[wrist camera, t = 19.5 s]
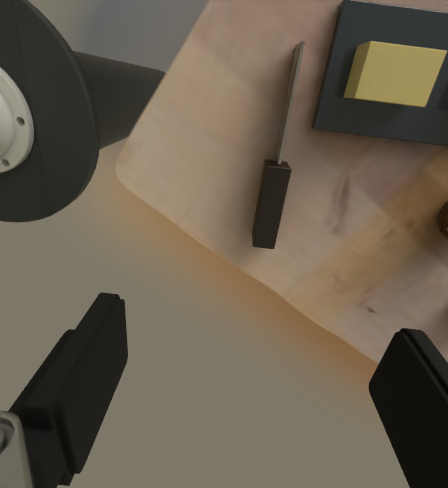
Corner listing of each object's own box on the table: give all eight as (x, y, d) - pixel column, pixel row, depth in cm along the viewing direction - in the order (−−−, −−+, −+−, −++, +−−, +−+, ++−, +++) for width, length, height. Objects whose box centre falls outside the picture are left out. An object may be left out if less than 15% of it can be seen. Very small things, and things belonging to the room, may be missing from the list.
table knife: (311, 46, 26) (319, 42, 24) (271, 237, 35) (274, 249, 33) (284, 43, 26) (289, 38, 24) (251, 235, 35) (252, 246, 33)
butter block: (343, 97, 27) (354, 98, 24) (357, 45, 25) (370, 40, 23) (407, 105, 27) (425, 107, 25) (425, 54, 25) (447, 50, 23)
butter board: (311, 128, 29) (313, 129, 29) (340, 1, 25) (344, -2, 24) (468, 147, 30) (475, 149, 29) (528, 25, 25) (538, 23, 24)
